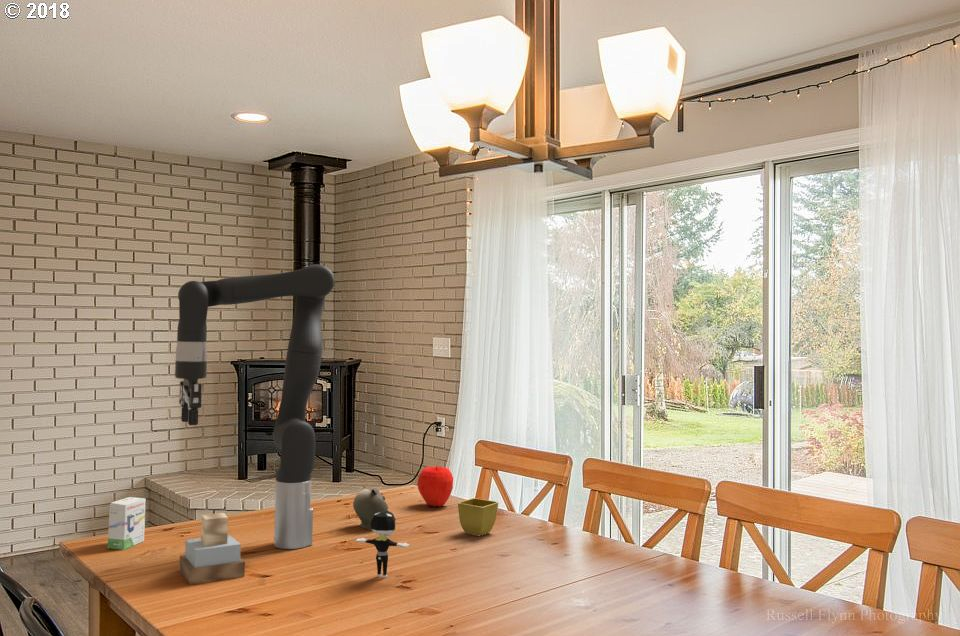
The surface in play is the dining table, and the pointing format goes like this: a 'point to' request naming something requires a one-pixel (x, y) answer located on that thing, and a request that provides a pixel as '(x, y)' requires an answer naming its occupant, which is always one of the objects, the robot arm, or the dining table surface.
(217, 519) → the maple block
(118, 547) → the ink box
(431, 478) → the apple
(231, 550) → the slate-blue block
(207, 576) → the walnut plinth block
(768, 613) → the dining table surface
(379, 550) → the toy
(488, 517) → the flower pot
